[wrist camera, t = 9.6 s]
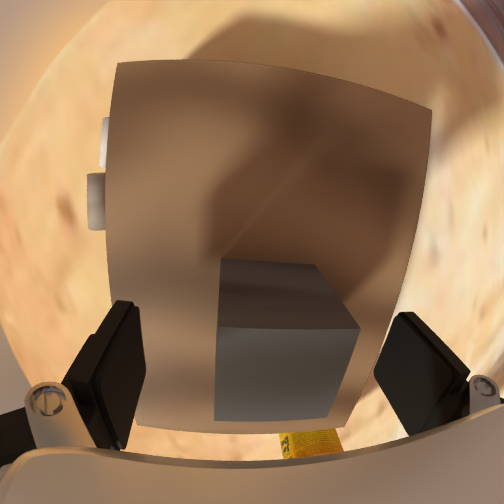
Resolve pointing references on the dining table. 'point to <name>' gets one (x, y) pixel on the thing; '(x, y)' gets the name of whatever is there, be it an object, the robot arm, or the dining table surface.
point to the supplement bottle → (310, 443)
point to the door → (256, 237)
